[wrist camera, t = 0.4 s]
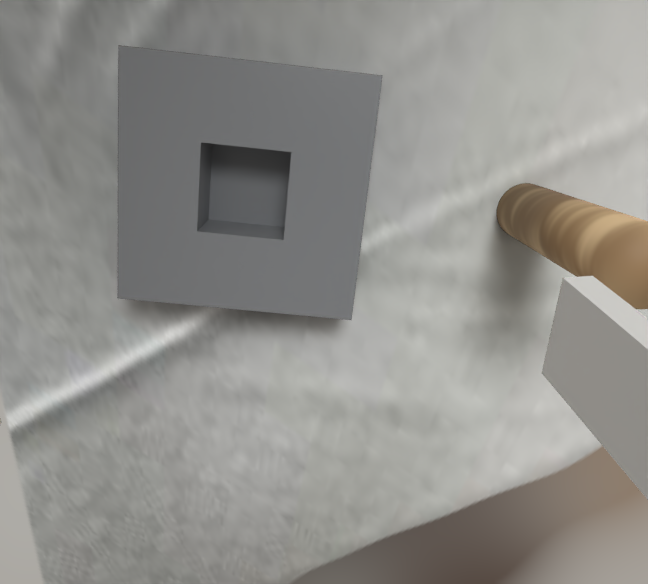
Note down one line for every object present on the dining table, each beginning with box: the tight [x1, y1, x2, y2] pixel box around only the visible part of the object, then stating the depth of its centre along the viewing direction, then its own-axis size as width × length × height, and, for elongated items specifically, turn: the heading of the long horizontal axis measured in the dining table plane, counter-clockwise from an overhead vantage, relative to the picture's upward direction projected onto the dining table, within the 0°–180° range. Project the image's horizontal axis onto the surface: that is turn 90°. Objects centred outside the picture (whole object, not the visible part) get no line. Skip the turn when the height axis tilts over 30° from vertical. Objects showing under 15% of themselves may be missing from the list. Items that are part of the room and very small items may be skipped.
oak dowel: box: [497, 183, 648, 309], centre depth 32 cm, size 4×4×15 cm
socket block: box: [118, 45, 382, 320], centre depth 36 cm, size 14×14×5 cm
